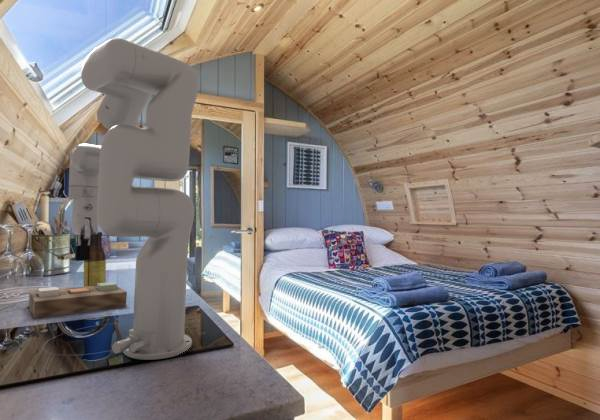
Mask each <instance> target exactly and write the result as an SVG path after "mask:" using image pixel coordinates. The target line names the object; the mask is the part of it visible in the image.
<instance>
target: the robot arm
mask: <svg viewBox="0 0 600 420" xmlns="http://www.w3.org/2000/svg"><path fill="white" fill-rule="evenodd" d="M81 67H82V68H81V75H80V76H81V77H80V78H81V82H82V84H83V86H85V88H86V89H87V90H90V91H93V92H96V93H100V94H102V95H103V94H104V95H103V97H102V100H101V102H100V104H99V106H98V108H97V111H96V116H97V119H98V121H99V123H100V124H101V126H103V127H104V128H106V130H107V131H106V132H105V135H104V137H103V138H102V142H101V145H97V144H92V143H79V144H77V145H76V146H75V147H74V148H73V149H72V150H71V151H70V154H69V172H68V173H69V175H68V199H70V200H72V206H71V207H72V208H71V209H72V210H71V233H72V234H73V235H75V248H74V249H75V251H74V252H75V253H74V254H75V255H74V260H75V261H77V262H78V261H79V262H80V261H82V262H84V260H89V259H90V236H91V234H94V235H96V234H97V233H98V232H99V229H100V232H102V234H105V235H106V236H109V237H114V238H135V237H137V238H139V237H141V238H142V237H144V238H145V237H146V238H147V239H146V241H145V242H144V244H143V245H142V247H141V248H140V250H139V252H138V254H137V256H136V260H135V274H134V275H135V279H134V296H133V298H134V300H133V321H132V328H131V329H129V330H128V335H127V336H126V337H125V339H121V340H118V341H115V342H113V344H112V346H111V349H112V352H113V353H114V354H116V355H117V354H119V353H122V352H123V353H122V354H124V355H125V356H127V357H128V358H131V359H135V360H141V361H142V360H145V361H147V360H149V361H151V360H152V361H153V360H155V361H156V360H162V359H168V358H173V357H177V356H180V355H182V354H184V353H185V351H186V350H187V351H189V350H190V349H191V348H192V346H193V340H192V338H191V337H190V335H188V334H185V327H186V326H185V325H186V324H185V323H186V299H187V277H188V276H187V275H188V272H187V271H188V256H189V255H188V254H189V245H190V237H191V233H192V228H193V224H194V219H195V212H196V211H195V205H194V202H193V200H192V198H191V197H190V196H189V195H188V194H186V193H185V192H183V191H181V190H178V189H174V188H168V187H167V188H165V187H155V186H140V185H133V182H134V179H139V180H150V181H158V182H160V181H161V182H177V181H181V180H182V179H184V178H185V177H186V175H187V173H188V170H189V164H190V152H191V138H192V137H191V136H192V116H193V110H194V107H195V104H196V100H197V96H198V93H199V84H200V83H199V77H198V74H197V72H196V70H195V69H194V68H193V66H191V65H190V64H188V63H186V62H184V61H181V60H180V59H177V58H174V57H172V56H169V55H166V54H165V53H162V52H159V51H157V50H153V49H151V48H147V47H145V46H142V45H140V44H138V43H135V42H132V41H129V40H127V39H123V38H117V37H115V38H111V39H108V40H106V41H105V42H103V43H102V44H99V45H98V46H96V47H94V48H93V50H91V51H90V52H89V53H88V55H87V56H86V57H85V60H83V64H82V66H81ZM152 95H154V96H153V97H152V99H150V97H151V96H152ZM149 99H150V101H149ZM148 101H149V102H148ZM147 102H148V105H147ZM146 105H147V106H146ZM145 107H146V113H145V126H144V127H140V126H136V123H137V121H138V120H139V118H140V116H141V114H142V112H143V110H144V108H145ZM191 345H192V346H191ZM190 347H191V348H190ZM189 348H190V349H189ZM188 349H189V350H188ZM187 351H186V352H187ZM183 352H184V353H183ZM181 353H182V354H181ZM179 354H180V355H179Z"/></svg>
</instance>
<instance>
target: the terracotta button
mask: <svg viewBox="0 0 600 420" xmlns="http://www.w3.org/2000/svg"><path fill="white" fill-rule="evenodd" d="M79 293H89V290H88V289H87V288H79V289H69V294H79Z"/></svg>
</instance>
